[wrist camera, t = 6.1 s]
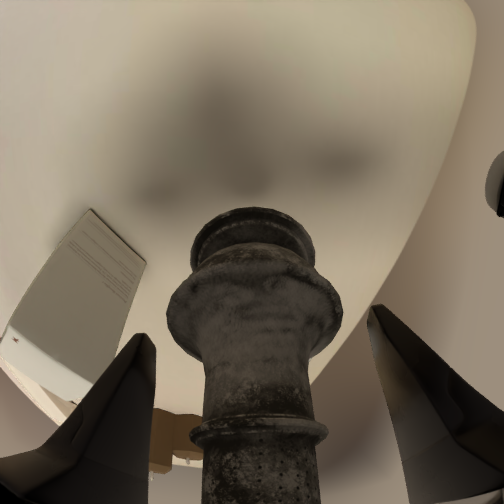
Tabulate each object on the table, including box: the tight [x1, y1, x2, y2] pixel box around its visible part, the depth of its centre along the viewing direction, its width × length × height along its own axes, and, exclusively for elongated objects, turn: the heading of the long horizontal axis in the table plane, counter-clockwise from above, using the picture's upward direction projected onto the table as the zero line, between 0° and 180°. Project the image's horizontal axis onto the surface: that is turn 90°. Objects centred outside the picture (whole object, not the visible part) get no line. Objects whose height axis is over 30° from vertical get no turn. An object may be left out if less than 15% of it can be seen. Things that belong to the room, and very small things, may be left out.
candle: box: [149, 409, 203, 481], centre depth 42 cm, size 14×14×15 cm
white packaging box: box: [0, 210, 146, 402], centre depth 18 cm, size 7×7×13 cm
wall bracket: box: [1, 357, 77, 423], centre depth 41 cm, size 10×7×28 cm
